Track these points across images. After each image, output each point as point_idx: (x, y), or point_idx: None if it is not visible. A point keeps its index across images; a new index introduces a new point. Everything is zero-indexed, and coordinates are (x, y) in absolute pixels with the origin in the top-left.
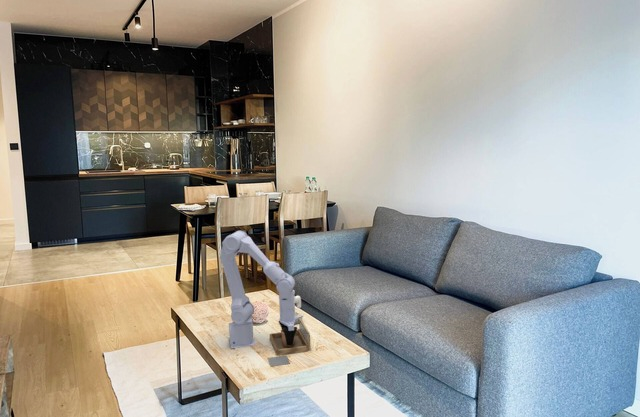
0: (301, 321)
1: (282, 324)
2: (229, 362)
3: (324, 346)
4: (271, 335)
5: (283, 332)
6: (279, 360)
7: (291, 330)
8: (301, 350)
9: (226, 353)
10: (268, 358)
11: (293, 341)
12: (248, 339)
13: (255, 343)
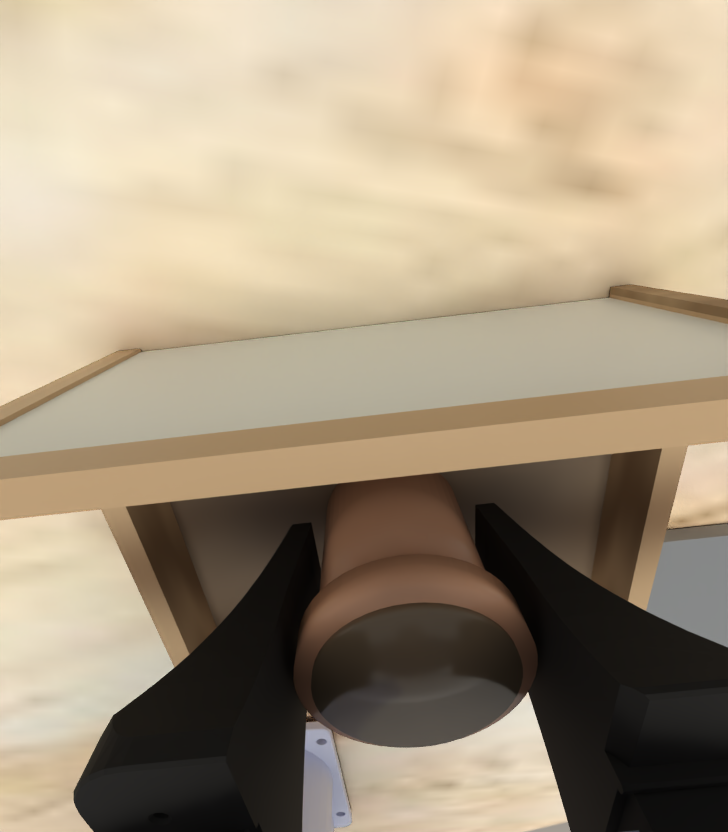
0: (87, 498)
1: (291, 816)
2: (537, 807)
3: (550, 22)
4: None
5: (472, 723)
6: (708, 597)
7: None
8: None
9: (405, 823)
10: None
11: (445, 499)
12: (320, 818)
13: (307, 731)
